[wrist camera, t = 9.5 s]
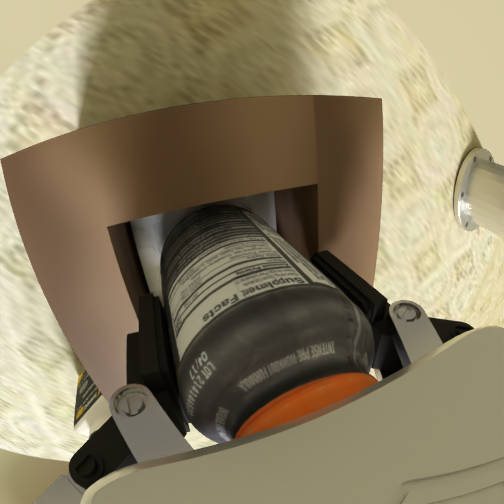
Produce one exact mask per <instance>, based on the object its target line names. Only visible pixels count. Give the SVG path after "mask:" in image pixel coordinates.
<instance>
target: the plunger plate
mask: <svg viewBox="0 0 504 504" xmlns="http://www.w3.org/2000/svg"><path fill="white" fill-rule="evenodd" d="M212 205H234V206H239V207H242V208H245V209H247V210H249V211H251V212H252V213H254V214H256V215H257V216H259V217H260V218H261V219H263V220H264V221H265V222H266V223H267V224H268V225H269V226H270V227H271V228H273V229H274V230H275V231H276V232H277V228H276V213H275V199H274V191H270V192H264V193H259V194H253V195H248V196H243V197H237V198H232V199H227V200H222V201H217V202H212V203H207V204H202V205H198V206H193V207H188V208H184V209H179V210H174V211H170V212H166V213H161V214H157V215H153V216H148V217H144V218H140V219H136V220H132V221H130V224H131V228H132V231H133V235H134V239H135V243H136V246H137V250H138V254H139V257H140V261H141V264H142V267H143V271H144V274H145V277H146V281H147V284H148V287H149V290H150V293H153V295H154V297H155V296H159V297H160V300H161V303H162V306H163V309H164V302H163V295H162V285H161V274H160V257H161V252H162V249H163V246H164V243H165V241H166V239H167V237H168V235H169V234H170V232H171V231H172V230H173V228H174V227H175V226H176V225H177V224H178V223H179V222H180V221H181V220H182V219H183V218H185V217H186V216H188V215H189V214H191V213H193V212H195V211H197V210H200V209H202V208H205V207H208V206H212ZM164 313H165V311H164Z"/></svg>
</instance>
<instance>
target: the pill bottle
mask: <svg viewBox="0 0 504 504" xmlns="http://www.w3.org/2000/svg"><path fill="white" fill-rule="evenodd" d="M160 274H161V285H162V295H163V302H164V311H165V317H166V323H167V330H168V337H169V343H170V349H171V355H172V360H173V365H174V371H175V375H176V381H177V385H178V390H179V395H180V401H181V404H182V407H183V409H184V412H185V414H186V416H187V418H188V419H189V421H190V422H191V423H192V425H193V426H194V427H195V428H196V429H197V430H198V431H199V432H200V433H202V434H203V435H204V436H206V437H207V438H209V439H211V440H212V441H214V442H217V443H219V444H220V443H223V442H227V441H231V440H234V439H238V438H241V437H245V436H248V435H251V434H254V433H257V432H261V431H264V430H267V429H270V428H272V427H275V426H278V425H281V424H284V423H287V422H289V421H292V420H295V419H297V418H300V417H302V416H305V415H307V414H310V413H312V412H315V411H317V410H320V409H322V408H324V407H327V406H329V405H331V404H333V403H336V402H338V401H340V400H342V399H345V398H347V397H349V396H351V395H353V394H355V393H357V392H359V391H361V390H363V389H365V388H367V387H369V386H371V385H373V384H375V383H377V382H378V380H377V379H376V378H375V377H373V376H372V375H370V374H369V372H370V369H371V366H372V363H373V358H374V338H373V333H372V328H371V325H370V323H369V321H368V319H367V317H366V316H365V314H364V313H363V312H362V311H361V309H360V308H359V307H358V306H357V305H356V304H355V303H354V302H352V301H351V300H350V299H349V298H348V297H347V296H346V295H345V293H344V292H343V291H342V290H341V289H340V288H339V287H338V286H337V285H336V284H335V283H333V282H332V281H331V280H330V279H329V278H328V277H326V276H325V275H324V274H323V273H322V272H321V271H320V270H319V269H318V268H317V267H316V266H314V265H313V264H312V263H311V262H310V261H309V260H308V259H306V258H305V257H304V256H303V255H302V254H301V253H300V252H299V251H297V250H296V249H295V248H294V247H293V246H292V245H291V244H290V243H288V242H287V241H286V240H285V239H284V238H283V237H282V236H280V235H279V234H278V233H277V232H276V231H275V230H274V229H273V228H271V227H270V226H269V225H268V224H267V223H266V222H265V221H264V220H263V219H261V218H260V217H259V216H257V215H256V214H254V213H252V212H251V211H249V210H247V209H245V208H242V207H239V206H234V205H212V206H208V207H205V208H202V209H200V210H197V211H195V212H193V213H191V214H189V215H188V216H186V217H185V218H183V219H182V220H181V221H180V222H179V223H178V224H177V225H176V226H175V227H174V228H173V230H172V231H171V232H170V234H169V235H168V237H167V239H166V241H165V243H164V246H163V249H162V252H161V257H160Z"/></svg>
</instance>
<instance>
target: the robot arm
mask: <svg viewBox="0 0 504 504" xmlns="http://www.w3.org/2000/svg"><path fill="white" fill-rule="evenodd" d="M454 212H455V218H456V221H457V223H458V225H459V226H460V227H461V228H462V229H464V230H467V231H473V230H475V229H477V228H478V227H479V226H482V227H484V228H486V229H488V230H490V231H491V232H493V233H495V234H497V235H499V236H501V237H503V238H504V166H502V165H499V164H496V163H494V160H493V157H492V155H491V154H490V152H489V151H487V150H486V149H483V148H475V149H473V150H472V151H470V152H469V154H468V155H467V156H466V158H465V159H464V161H463V163H462V166H461V168H460V171H459V174H458V177H457V181H456V186H455V193H454ZM310 262H311V263H312V264H313V265H314V266H316V267H317V268H318V269H319V270H320V271H321V272H322V273H323V274H324V275H325V276H326V277H328V278H329V279H330V280H331V281H332V282H333V283H335V284H336V285H337V286H338V287H339V288H340V289H341V290H342V291H343V292H344V293H345V295H346V296H347V297H348V298H349V299H350V300H351V301H352V302H354V303H355V304H356V305H357V306H358V307H359V308H360V309H361V311H362V312H363V313H364V314H365V316H366V317H367V319H368V321H369V323H370V325H371V328H372V333H373V338H374V358H373V363H372V366H371V367H372V368H373V369H375V374H376V378H377V380H378V382H377V383H375V384H373V385H371V386H369V387H367V388H365V389H363V390H361V391H359V392H357V393H355V394H353V395H351V396H349V397H347V398H345V399H342V400H340V401H338V402H336V403H333V404H331V405H329V406H327V407H324V408H322V409H320V410H317V411H315V412H312V413H310V414H307V415H305V416H302V417H300V418H297V419H295V420H292V421H289V422H287V423H284V424H281V425H278V426H275V427H272V428H270V429H267V430H264V431H261V432H257V433H254V434H251V435H248V436H245V437H241V438H238V439H234V440H231V441H227V442H223V443H220V444H216V445H212V446H208V447H204V448H200V449H196V450H194V449H193V448H192V447H191V446H190V444H189V443H188V442H187V441H186V439H185V438H184V437H185V436H186V434H187V433H186V432H190V429H189V425H188V423H191V422H190V421H189V419H188V418H187V416H186V414H185V412H184V409H183V407H182V404H181V401H180V395H179V390H178V385H177V381H176V375H175V371H174V365H173V360H172V355H171V349H170V343H169V337H168V330H167V323H166V317H165V313H164V309H163V306H162V303H161V300H160V297H159V296H155V297H154V295H153V293H151V294H147V295H143V296H139V303H138V322H139V332H134V333H129V334H127V343H126V381H127V385H125V386H122V387H121V388H119V389H118V390H116V391H115V392H114V394H113V395H112V396H111V398H110V401H109V409H110V412H111V414H112V416H111V417H110V418H109V419H108V420H107V421H106V422H105V423H104V424H103V425H102V426H101V427H100V428H99V429H98V430H97V431H96V432H95V433H94V434H93V435H92V436H91V438H90V439H89V440H88V441H87V442H86V443H85V444H84V445H83V446H82V447H81V448H80V449H79V450H78V451H77V452H76V453H75V454H74V455H73V457H72V458H71V460H70V463H69V473H68V474H67V475H66V476H64V475H63V474H62V475H61V476H60V477H59V478H58V479H57V480H56V481H55V482H54V483H53V484H52V485H51V486H50V487H49V488H48V489H47V490H46V491H45V492H44V493H43V494H42V495H41V496H39V497H38V498H37V499H36V500H35V502H33V503H32V504H504V328H502V327H498V326H484V327H480V328H475V329H474V328H473V327H472V326H470V325H469V324H467V323H464V322H459V321H451V320H444V319H437V318H430V317H428V316H427V315H426V313H425V311H424V310H423V308H422V307H421V306H420V305H418V304H417V303H415V302H412V301H407V300H400V301H396V302H394V303H392V304H391V305H390V304H389V303H388V302H387V298H385V297H384V296H383V295H382V294H381V293H380V292H378V291H377V290H376V289H375V288H374V287H372V286H371V285H370V284H369V283H368V282H366V281H365V280H364V279H363V278H362V277H360V276H359V275H358V274H357V273H355V272H354V271H353V270H352V269H351V268H349V267H348V266H347V265H346V264H344V263H343V262H342V261H341V260H339V259H338V258H337V257H336V256H334V255H333V254H332V253H331V252H329V251H328V250H325V251H321V252H317V253H314V255H313V257H311V258H310Z"/></svg>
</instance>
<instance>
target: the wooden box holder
mask: <svg viewBox="0 0 504 504" xmlns="http://www.w3.org/2000/svg"><path fill="white" fill-rule="evenodd" d="M1 164H2V169H3V174H4V178H5V183H6V187H7V191H8V195H9V199H10V202H11V206H12V209H13V213H14V216H15V219H16V223H17V226H18V229H19V232H20V235H21V238H22V241H23V243H24V246H25V249H26V252H27V254H28V257H29V259H30V262H31V265H32V267H33V269H34V272H35V274H36V277H37V279H38V281H39V284H40V286H41V288H42V290H43V293H44V295H45V297H46V299H47V301H48V303H49V305H50V307H51V309H52V311H53V313H54V315H55V317H56V319H57V321H58V323H59V325H60V327H61V329H62V331H63V332H64V334H65V336H66V338H67V340H68V341H69V343H70V345H71V347H72V348H73V350H74V352H75V353H76V355H77V357H78V358H79V360H80V362H81V363H82V365H83V366H84V368H85V369H86V371H87V373H88V374H89V376H90V377H91V379H92V380H93V382H94V383H95V385H96V386H97V388H98V389H99V390H100V392H101V393H102V395H103V396H104V398H105V399H106V400H107V402H108V403H109V401H110V398H111V396H112V395H113V394H114V392H115V391H116V390H118V389H119V388H121V387H122V386H125V385H127V381H126V343H127V334H129V333H134V332H139V322H138V303H139V296H143V295H147V294H151V293H150V290H149V287H148V284H147V281H146V277H145V274H144V271H143V267H142V264H141V261H140V257H139V254H138V250H137V246H136V243H135V239H134V235H133V231H132V228H131V224H130V221H132V220H136V219H140V218H144V217H148V216H153V215H157V214H161V213H166V212H170V211H174V210H179V209H184V208H188V207H193V206H198V205H202V204H207V203H212V202H217V201H222V200H227V199H232V198H237V197H243V196H248V195H253V194H259V193H264V192H270V191H274V199H275V213H276V228H277V233H278V234H279V235H280V236H282V237H283V238H284V239H285V240H286V241H287V242H288V243H290V244H291V245H292V246H293V247H294V248H295V249H296V250H297V251H299V252H300V253H301V254H302V255H303V256H304V257H305V258H306V259H308V260H309V261H310V258H311V257H313V255H314V253H317V252H321V251H325V250H328V251H329V252H331V253H332V254H333V255H334V256H336V257H337V258H338V259H339V260H341V261H342V262H343V263H344V264H346V265H347V266H348V267H349V268H351V269H352V270H353V271H354V272H355V273H357V274H358V275H359V276H360V277H362V278H363V279H364V280H365V281H366V282H368V283H369V284H370V285H371V286H372V287H373V283H374V276H375V268H376V260H377V251H378V241H379V231H380V218H381V203H382V183H383V114H382V99H381V98H369V97H355V96H331V95H289V96H265V97H250V98H238V99H227V100H218V101H210V102H202V103H195V104H188V105H182V106H176V107H170V108H165V109H159V110H154V111H149V112H144V113H140V114H135V115H131V116H127V117H122V118H118V119H114V120H111V121H107V122H103V123H99V124H96V125H92V126H89V127H86V128H82V129H79V130H76V131H73V132H70V133H66V134H63V135H61V136H58V137H55V138H52V139H49V140H46V141H44V142H41V143H38V144H36V145H33V146H31V147H28V148H26V149H23V150H21V151H18V152H16V153H14V154H11V155H9V156H7V157H4V158H2V159H1Z"/></svg>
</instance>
